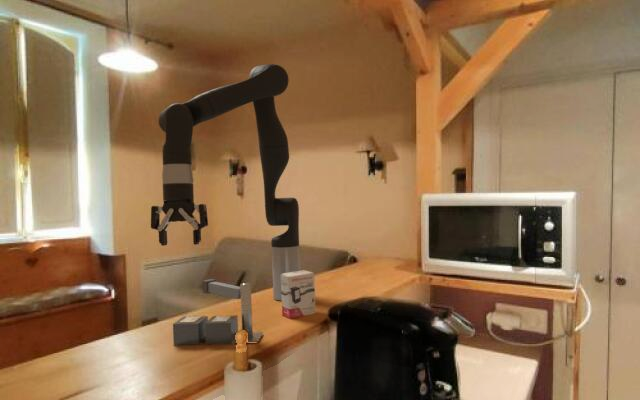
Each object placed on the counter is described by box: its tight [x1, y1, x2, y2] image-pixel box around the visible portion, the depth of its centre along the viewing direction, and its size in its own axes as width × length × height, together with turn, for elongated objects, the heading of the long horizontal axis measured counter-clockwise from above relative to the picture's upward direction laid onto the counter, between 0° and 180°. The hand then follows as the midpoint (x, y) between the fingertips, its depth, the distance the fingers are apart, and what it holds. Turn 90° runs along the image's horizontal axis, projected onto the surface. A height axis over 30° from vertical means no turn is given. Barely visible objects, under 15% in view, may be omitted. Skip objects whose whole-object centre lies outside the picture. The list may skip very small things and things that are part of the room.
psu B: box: [172, 315, 209, 346], centre depth 96 cm, size 6×6×5 cm
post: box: [231, 282, 264, 345], centre depth 96 cm, size 6×6×13 cm
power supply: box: [205, 314, 239, 346], centre depth 96 cm, size 6×6×5 cm
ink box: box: [281, 269, 316, 319], centre depth 115 cm, size 8×5×12 cm, turn 123°
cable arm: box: [202, 278, 241, 300], centre depth 102 cm, size 16×3×3 cm, turn 45°
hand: (180, 244), depth 106 cm, fingers open, 8 cm apart
